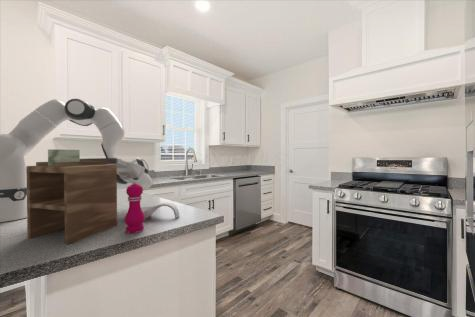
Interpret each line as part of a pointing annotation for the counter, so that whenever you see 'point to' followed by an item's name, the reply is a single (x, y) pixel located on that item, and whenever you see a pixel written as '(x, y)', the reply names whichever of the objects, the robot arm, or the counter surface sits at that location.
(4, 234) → the counter surface
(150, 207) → the spoon rest
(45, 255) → the counter surface
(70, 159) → the block
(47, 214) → the walnut shelf
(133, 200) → the pepper mill
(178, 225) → the counter surface
